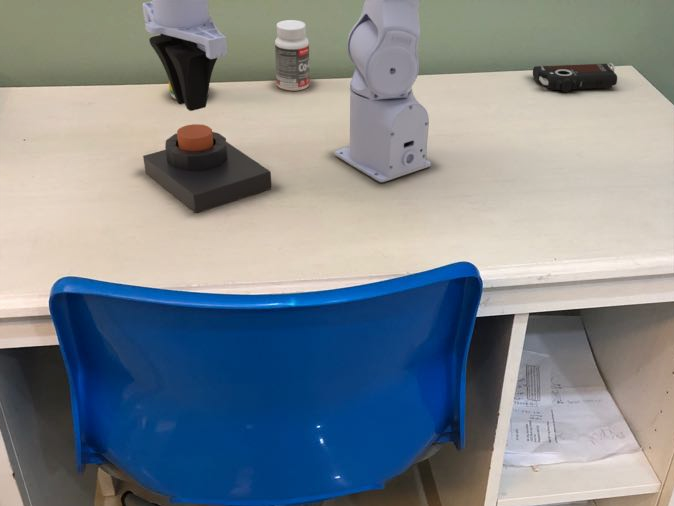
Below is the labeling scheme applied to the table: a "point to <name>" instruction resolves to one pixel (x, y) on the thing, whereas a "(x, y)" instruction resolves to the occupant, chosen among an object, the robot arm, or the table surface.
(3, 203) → the table surface
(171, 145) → the block
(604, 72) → the camera
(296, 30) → the pill bottle
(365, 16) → the robot arm
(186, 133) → the orange push button
